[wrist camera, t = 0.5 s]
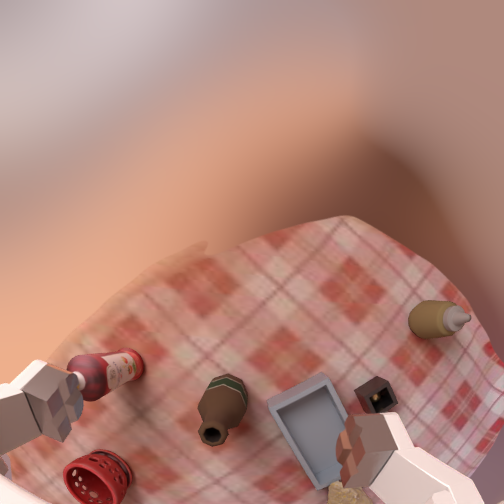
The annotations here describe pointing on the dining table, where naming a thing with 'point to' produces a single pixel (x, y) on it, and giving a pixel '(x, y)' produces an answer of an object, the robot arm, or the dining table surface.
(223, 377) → the beer bottle
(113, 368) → the liquor
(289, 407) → the bin
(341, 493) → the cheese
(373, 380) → the square brown scoop
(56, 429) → the robot arm
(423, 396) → the dining table surface
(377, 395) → the ball stud
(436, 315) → the squeeze bottle
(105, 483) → the plant pot
